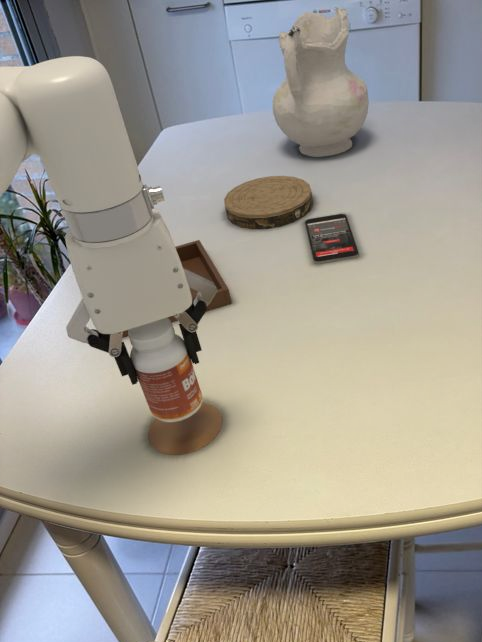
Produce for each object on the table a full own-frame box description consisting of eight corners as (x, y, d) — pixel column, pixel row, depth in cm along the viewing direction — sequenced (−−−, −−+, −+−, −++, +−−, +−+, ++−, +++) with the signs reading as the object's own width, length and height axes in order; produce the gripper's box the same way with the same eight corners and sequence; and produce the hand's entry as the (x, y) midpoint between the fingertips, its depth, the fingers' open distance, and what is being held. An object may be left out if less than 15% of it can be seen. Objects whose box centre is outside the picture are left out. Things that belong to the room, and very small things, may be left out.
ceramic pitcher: (361, 175, 128) (363, 31, 110) (264, 172, 130) (251, 31, 113) (371, 134, 143) (374, 1, 125) (285, 132, 145) (276, 2, 128)
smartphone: (313, 262, 102) (304, 219, 112) (314, 266, 102) (304, 223, 113) (359, 254, 102) (345, 212, 112) (360, 258, 102) (346, 216, 113)
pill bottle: (204, 419, 73) (178, 340, 65) (150, 428, 73) (117, 350, 65) (203, 384, 78) (179, 306, 70) (153, 393, 78) (123, 316, 70)
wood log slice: (299, 184, 125) (297, 168, 123) (324, 217, 114) (322, 201, 112) (219, 203, 123) (216, 188, 121) (237, 239, 112) (233, 223, 110)
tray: (116, 342, 93) (110, 325, 91) (100, 285, 105) (93, 270, 103) (232, 305, 97) (228, 288, 95) (203, 255, 109) (199, 239, 107)
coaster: (157, 467, 74) (155, 463, 74) (142, 419, 80) (141, 416, 80) (231, 440, 76) (230, 437, 75) (212, 396, 82) (210, 392, 82)
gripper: (190, 174, 63) (228, 326, 76) (10, 223, 60) (81, 373, 72) (209, 203, 58) (247, 360, 70) (14, 258, 55) (90, 413, 67)
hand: (163, 365), depth 71 cm, fingers closed on pill bottle, 6 cm apart
